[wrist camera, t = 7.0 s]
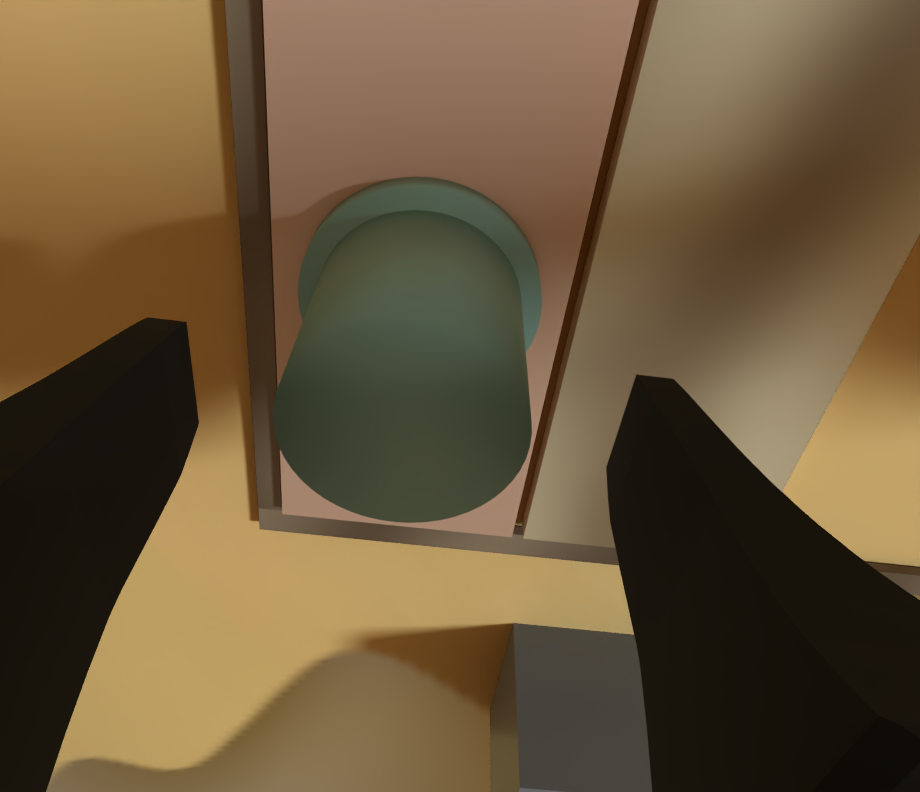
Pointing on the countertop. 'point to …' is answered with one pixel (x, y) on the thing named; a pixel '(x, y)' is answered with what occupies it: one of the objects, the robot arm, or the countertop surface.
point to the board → (619, 216)
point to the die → (569, 714)
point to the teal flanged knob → (411, 353)
